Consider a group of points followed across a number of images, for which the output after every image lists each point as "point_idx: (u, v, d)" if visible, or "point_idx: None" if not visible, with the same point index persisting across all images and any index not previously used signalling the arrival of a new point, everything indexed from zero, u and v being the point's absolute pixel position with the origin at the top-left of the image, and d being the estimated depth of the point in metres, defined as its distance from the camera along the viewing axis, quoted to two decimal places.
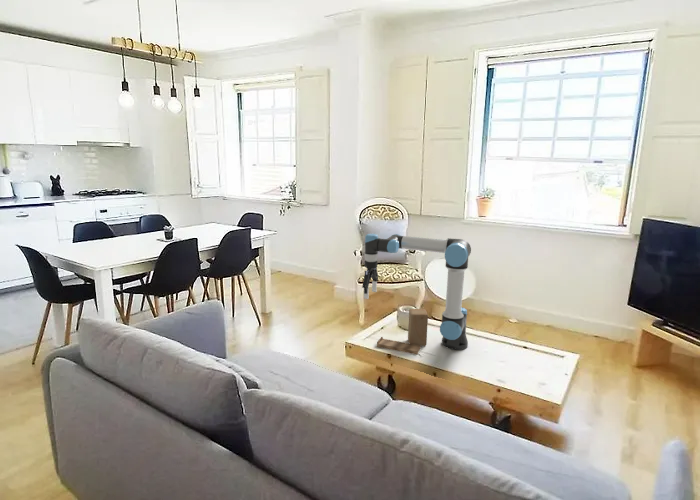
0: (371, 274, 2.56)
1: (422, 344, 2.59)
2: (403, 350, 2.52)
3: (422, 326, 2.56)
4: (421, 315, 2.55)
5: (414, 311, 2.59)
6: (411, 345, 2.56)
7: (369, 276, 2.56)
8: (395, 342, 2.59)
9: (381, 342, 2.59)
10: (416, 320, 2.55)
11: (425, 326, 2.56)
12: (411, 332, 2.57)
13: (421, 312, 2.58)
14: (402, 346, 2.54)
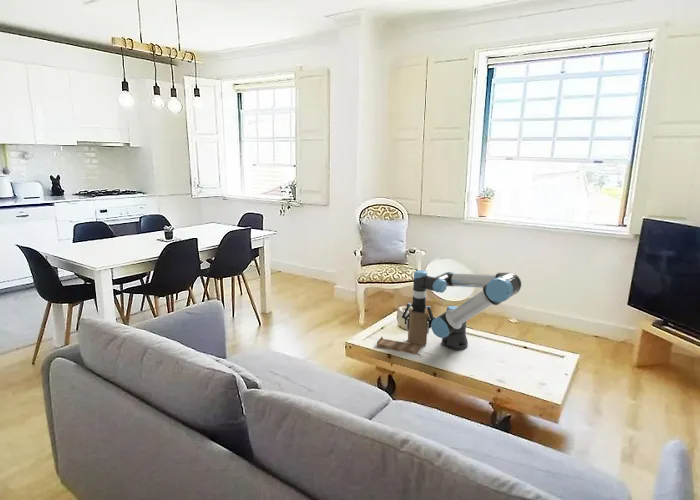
0: None
1: (422, 344, 2.59)
2: (403, 350, 2.52)
3: (422, 326, 2.56)
4: (421, 315, 2.55)
5: (414, 311, 2.59)
6: (411, 345, 2.56)
7: None
8: (395, 342, 2.59)
9: (381, 342, 2.59)
10: (416, 320, 2.55)
11: (425, 326, 2.56)
12: (411, 332, 2.57)
13: (421, 312, 2.58)
14: (402, 346, 2.54)
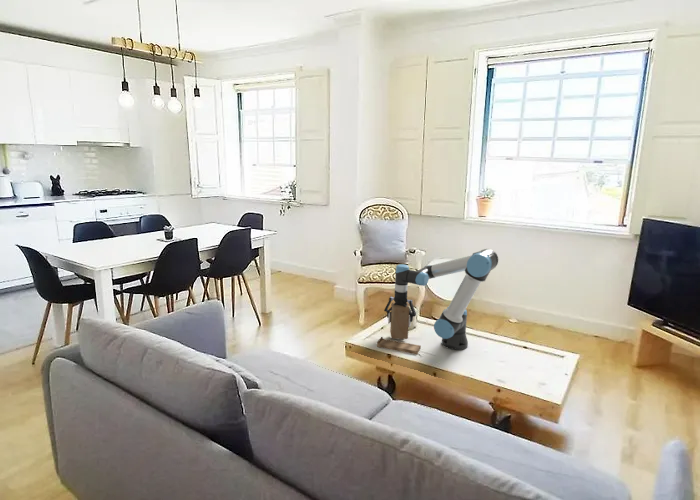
0: None
1: (403, 337, 2.63)
2: (403, 350, 2.52)
3: (404, 319, 2.60)
4: (402, 308, 2.59)
5: (396, 304, 2.63)
6: (411, 345, 2.56)
7: None
8: (395, 342, 2.59)
9: (381, 342, 2.59)
10: (397, 314, 2.59)
11: (406, 319, 2.60)
12: (393, 325, 2.61)
13: (403, 306, 2.61)
14: (402, 346, 2.54)
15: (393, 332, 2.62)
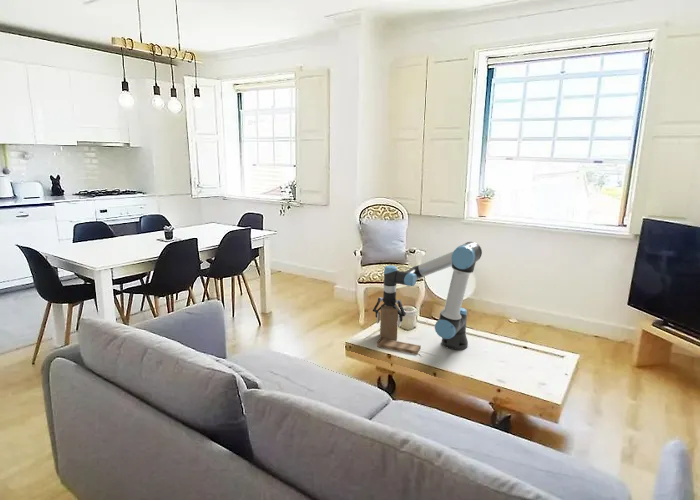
0: None
1: (392, 339, 2.65)
2: (403, 350, 2.52)
3: (392, 321, 2.63)
4: (391, 310, 2.61)
5: (385, 306, 2.66)
6: (411, 345, 2.56)
7: None
8: (395, 342, 2.59)
9: (381, 342, 2.59)
10: (386, 315, 2.62)
11: (395, 321, 2.63)
12: (382, 327, 2.64)
13: (392, 307, 2.64)
14: (402, 346, 2.54)
15: (382, 334, 2.65)
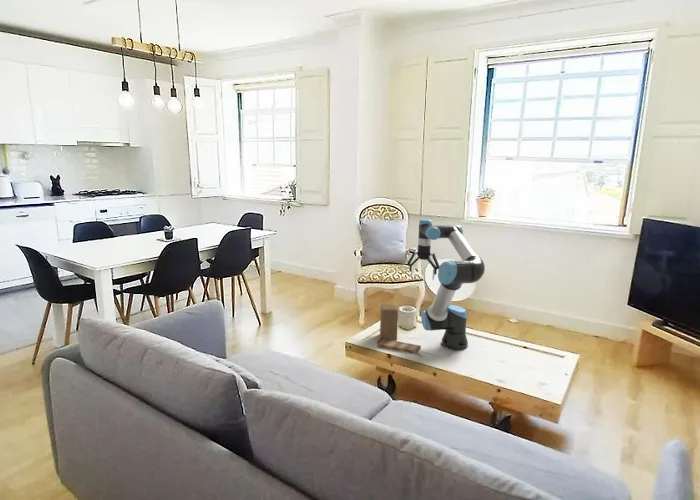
0: (418, 256, 2.71)
1: (392, 339, 2.65)
2: (403, 350, 2.52)
3: (392, 321, 2.63)
4: (391, 310, 2.61)
5: (385, 306, 2.66)
6: (411, 345, 2.56)
7: (417, 257, 2.72)
8: (395, 342, 2.59)
9: (381, 342, 2.59)
10: (386, 315, 2.62)
11: (395, 321, 2.63)
12: (382, 327, 2.64)
13: (392, 307, 2.64)
14: (402, 346, 2.54)
15: (382, 334, 2.65)
